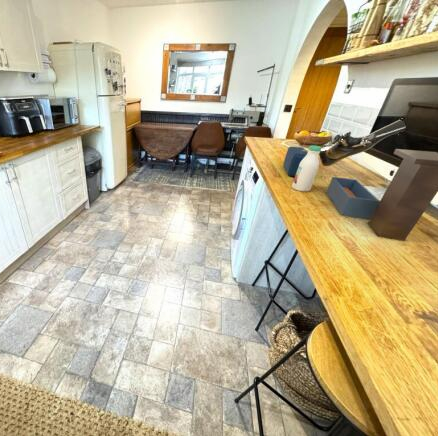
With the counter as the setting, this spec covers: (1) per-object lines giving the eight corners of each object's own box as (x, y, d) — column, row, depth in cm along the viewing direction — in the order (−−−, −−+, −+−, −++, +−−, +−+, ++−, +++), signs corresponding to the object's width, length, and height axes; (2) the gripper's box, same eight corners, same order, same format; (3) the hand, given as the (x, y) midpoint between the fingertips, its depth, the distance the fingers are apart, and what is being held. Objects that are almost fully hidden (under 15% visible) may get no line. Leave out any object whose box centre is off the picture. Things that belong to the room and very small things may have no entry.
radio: (305, 179, 126) (320, 140, 116) (287, 177, 128) (299, 138, 118) (297, 167, 143) (309, 132, 133) (281, 165, 145) (292, 131, 135)
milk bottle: (313, 189, 114) (329, 147, 104) (304, 193, 110) (321, 149, 100) (296, 184, 119) (310, 143, 109) (288, 187, 115) (302, 145, 105)
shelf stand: (391, 223, 87) (435, 152, 74) (410, 242, 77) (465, 163, 64) (359, 218, 90) (395, 148, 77) (372, 235, 80) (417, 159, 67)
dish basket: (349, 195, 108) (356, 179, 104) (370, 219, 89) (380, 201, 86) (325, 192, 111) (332, 176, 107) (341, 215, 92) (349, 197, 88)
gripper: (327, 137, 115) (343, 124, 100) (362, 140, 111) (385, 127, 96) (323, 153, 115) (339, 142, 100) (358, 156, 111) (381, 145, 96)
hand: (362, 134), depth 98 cm, fingers open, 8 cm apart
